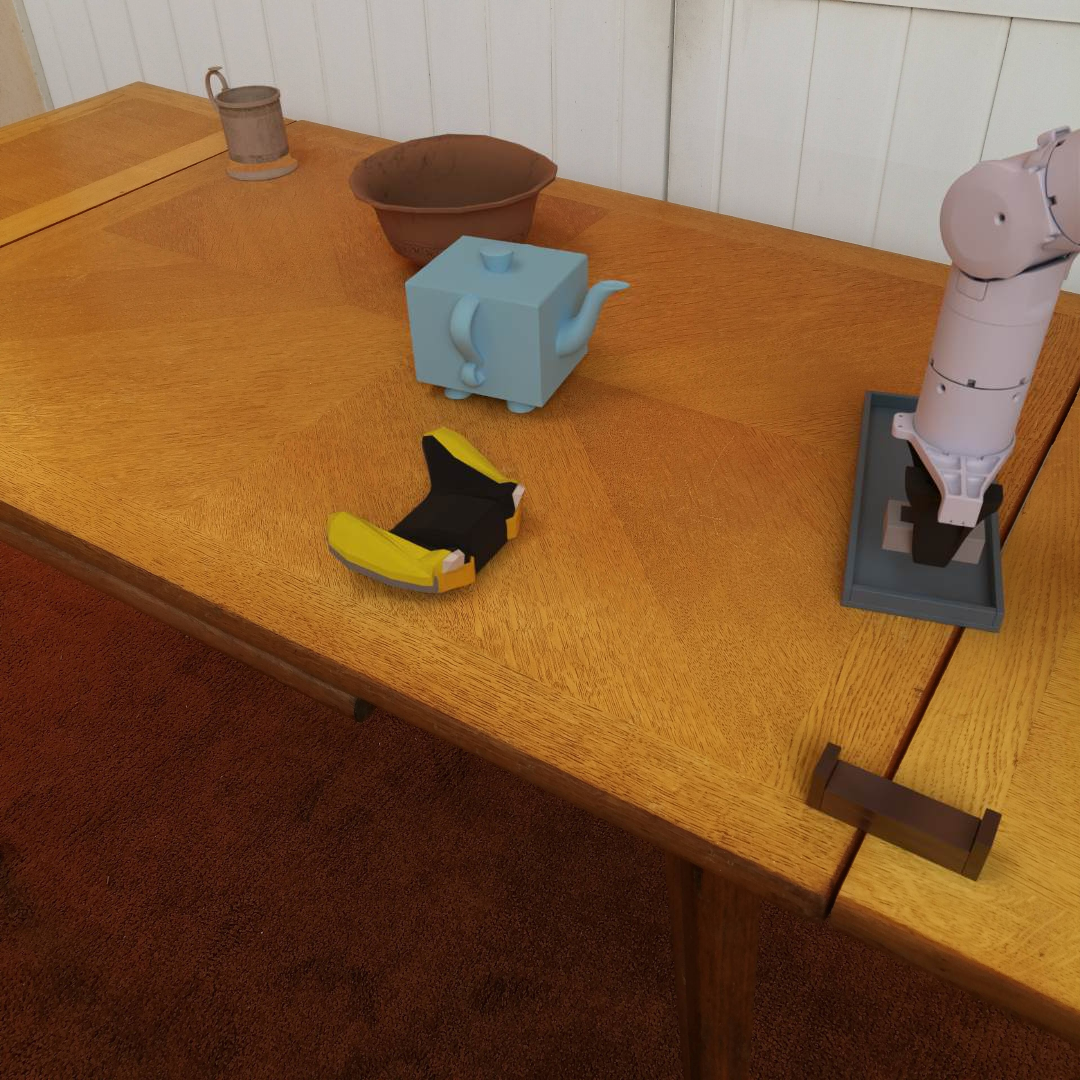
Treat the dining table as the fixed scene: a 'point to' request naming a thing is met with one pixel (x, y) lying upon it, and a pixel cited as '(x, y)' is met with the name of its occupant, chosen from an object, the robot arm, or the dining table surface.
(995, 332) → the robot arm
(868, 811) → the brown drawer handle
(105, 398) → the dining table surface
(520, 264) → the teapot
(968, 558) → the grey block
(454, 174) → the bowl
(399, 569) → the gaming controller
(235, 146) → the mug
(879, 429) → the tray
